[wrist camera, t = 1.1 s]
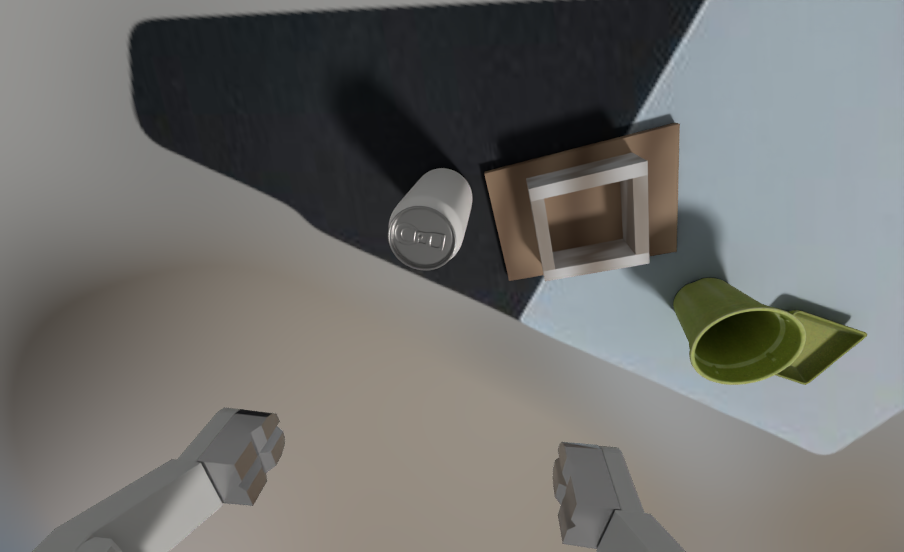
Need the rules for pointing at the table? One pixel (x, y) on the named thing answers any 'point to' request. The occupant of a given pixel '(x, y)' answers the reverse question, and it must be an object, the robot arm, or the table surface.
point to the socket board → (589, 206)
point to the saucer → (820, 347)
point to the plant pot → (736, 333)
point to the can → (431, 220)
